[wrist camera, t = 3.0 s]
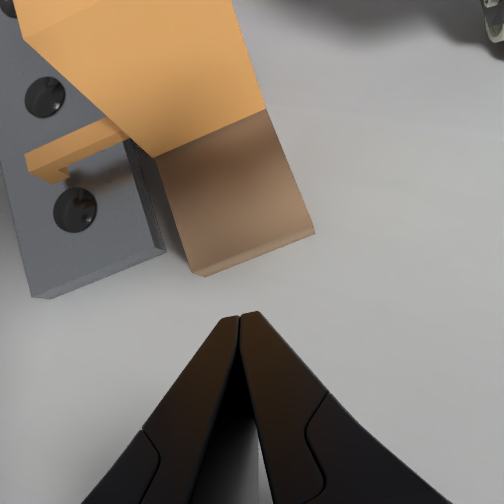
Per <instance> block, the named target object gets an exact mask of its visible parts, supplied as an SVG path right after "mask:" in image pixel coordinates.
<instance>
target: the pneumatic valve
mask: <svg viewBox="0 0 504 504" xmlns="http://www.w3.org/2000/svg"><path fill="white" fill-rule="evenodd" d="M480 1H481V4H482V7H483V11H484V14H485V25H486V30H487V34H488V36H489V38H490V40H491V41H492V42H493V43H496V42H500V41H504V0H480Z"/></svg>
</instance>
